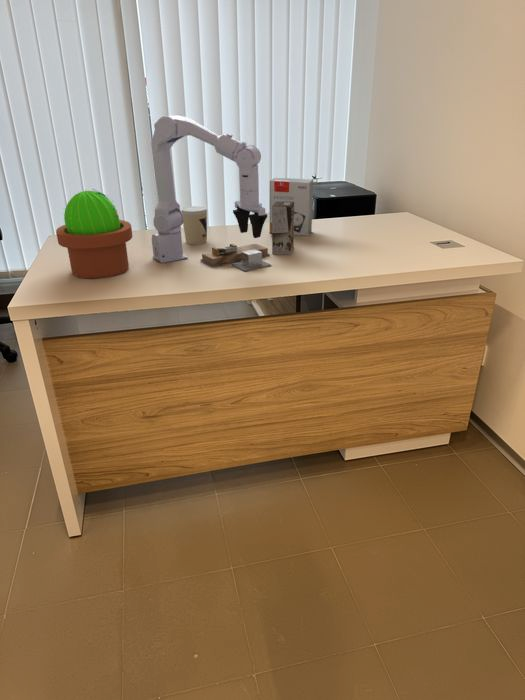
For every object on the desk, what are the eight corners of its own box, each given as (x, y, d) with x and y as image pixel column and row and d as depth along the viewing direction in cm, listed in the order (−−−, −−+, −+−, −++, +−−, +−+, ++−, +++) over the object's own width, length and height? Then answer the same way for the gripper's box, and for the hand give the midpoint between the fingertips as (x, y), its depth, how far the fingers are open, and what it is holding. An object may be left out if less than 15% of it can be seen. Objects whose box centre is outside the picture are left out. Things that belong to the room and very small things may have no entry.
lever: (217, 253, 169) (224, 253, 165) (216, 248, 169) (223, 248, 164) (230, 251, 172) (238, 251, 167) (229, 246, 171) (237, 246, 167)
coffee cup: (207, 244, 189) (205, 211, 183) (181, 245, 189) (178, 211, 184) (210, 238, 197) (208, 206, 192) (185, 238, 197) (183, 206, 192)
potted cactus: (62, 285, 152) (45, 197, 141) (66, 263, 171) (50, 184, 159) (139, 277, 157) (128, 192, 146) (134, 257, 176) (124, 180, 165)
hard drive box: (268, 233, 202) (268, 180, 193) (274, 229, 208) (274, 177, 199) (308, 236, 197) (309, 181, 188) (312, 231, 204) (313, 178, 195)
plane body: (212, 267, 165) (211, 252, 163) (200, 261, 171) (199, 247, 169) (269, 255, 175) (269, 241, 173) (256, 250, 181) (256, 236, 179)
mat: (244, 271, 160) (244, 270, 160) (231, 265, 166) (231, 264, 166) (271, 265, 165) (271, 264, 165) (257, 259, 171) (257, 258, 171)
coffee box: (290, 254, 176) (290, 206, 168) (271, 254, 177) (271, 205, 170) (294, 247, 184) (294, 201, 176) (276, 246, 185) (276, 200, 178)
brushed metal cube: (248, 267, 163) (248, 254, 161) (242, 264, 166) (241, 251, 164) (262, 264, 165) (261, 252, 163) (255, 261, 168) (255, 249, 166)
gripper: (273, 191, 152) (274, 237, 158) (247, 185, 163) (249, 228, 169) (253, 194, 148) (254, 241, 154) (228, 187, 159) (230, 231, 165)
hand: (250, 234), depth 161 cm, fingers open, 7 cm apart
